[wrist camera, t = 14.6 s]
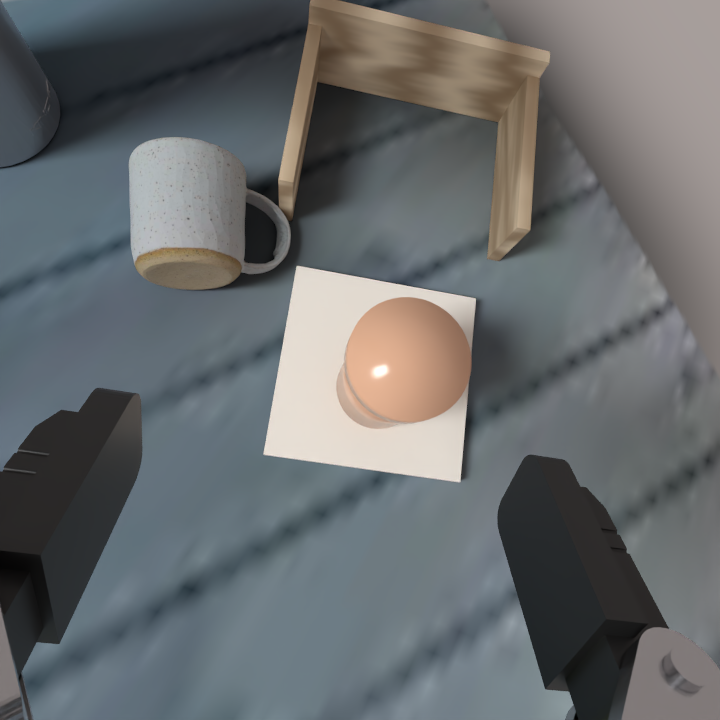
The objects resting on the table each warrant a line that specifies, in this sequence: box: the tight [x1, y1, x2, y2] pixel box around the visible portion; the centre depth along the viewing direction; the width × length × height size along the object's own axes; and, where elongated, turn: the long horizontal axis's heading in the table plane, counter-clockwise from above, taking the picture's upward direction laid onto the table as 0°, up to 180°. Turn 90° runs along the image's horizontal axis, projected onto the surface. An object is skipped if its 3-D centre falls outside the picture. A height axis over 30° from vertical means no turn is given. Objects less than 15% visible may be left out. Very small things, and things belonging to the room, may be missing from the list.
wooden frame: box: [278, 0, 550, 261], centre depth 39 cm, size 18×14×7 cm
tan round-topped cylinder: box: [336, 297, 471, 429], centre depth 32 cm, size 7×7×10 cm
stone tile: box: [264, 266, 476, 482], centre depth 38 cm, size 14×14×1 cm
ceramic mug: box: [129, 137, 291, 290], centre depth 35 cm, size 11×8×8 cm
